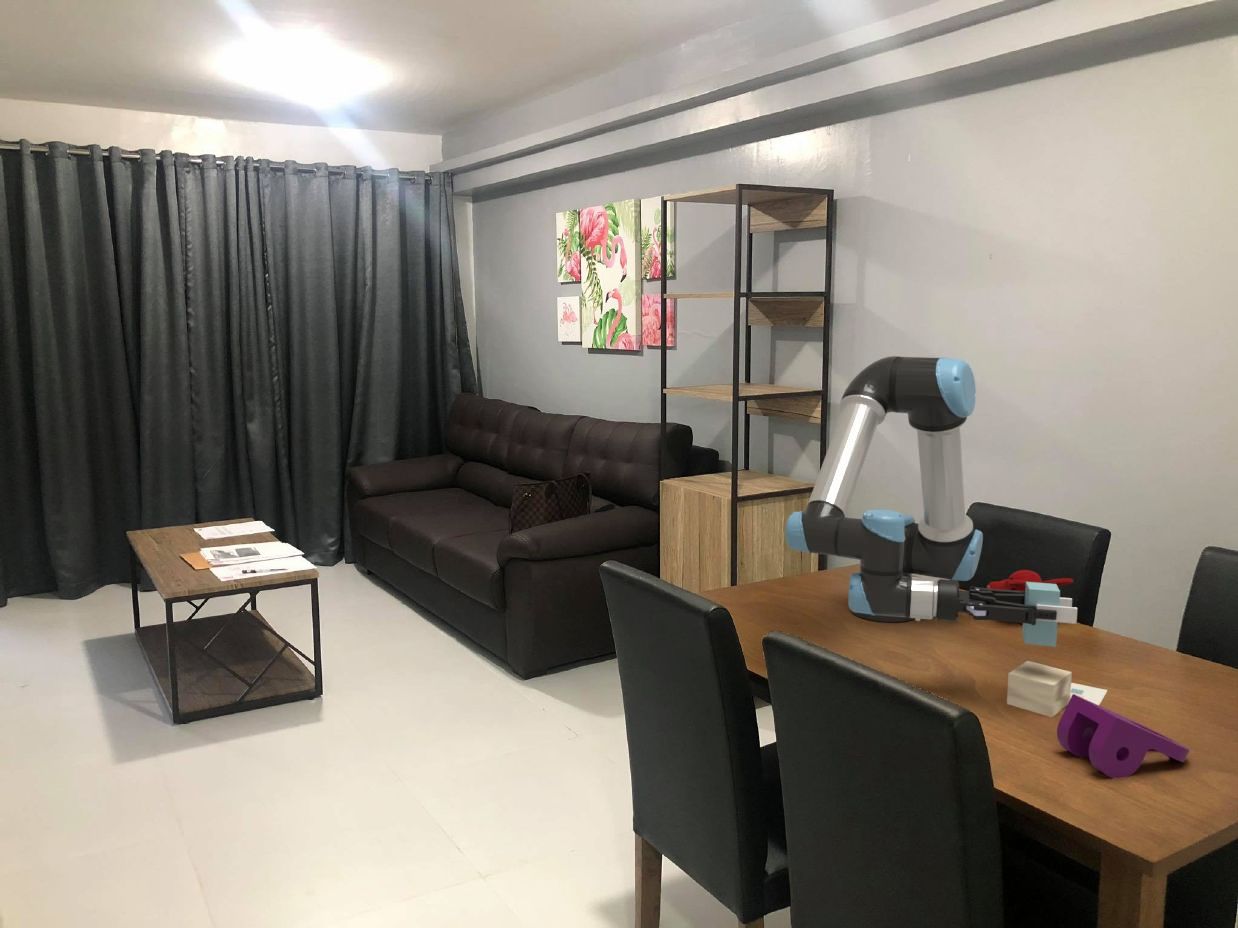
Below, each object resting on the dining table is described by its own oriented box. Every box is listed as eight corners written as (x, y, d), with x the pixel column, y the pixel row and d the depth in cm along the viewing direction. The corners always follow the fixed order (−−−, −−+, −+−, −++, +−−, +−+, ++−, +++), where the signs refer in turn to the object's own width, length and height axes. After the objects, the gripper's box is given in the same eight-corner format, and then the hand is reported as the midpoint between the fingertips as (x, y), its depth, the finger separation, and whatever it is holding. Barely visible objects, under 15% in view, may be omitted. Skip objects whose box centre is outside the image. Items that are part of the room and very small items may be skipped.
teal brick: (1022, 634, 178) (1026, 581, 176) (1051, 637, 176) (1056, 583, 175) (1025, 643, 173) (1029, 589, 171) (1055, 646, 172) (1060, 591, 170)
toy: (976, 634, 227) (1017, 619, 212) (965, 582, 231) (1005, 564, 216) (1038, 631, 230) (1083, 617, 215) (1027, 580, 235) (1070, 563, 220)
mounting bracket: (1132, 777, 162) (1048, 742, 157) (1155, 730, 162) (1072, 693, 157) (1178, 806, 153) (1091, 769, 148) (1203, 756, 153) (1117, 717, 147)
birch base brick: (1025, 691, 182) (1027, 660, 181) (1069, 703, 177) (1071, 671, 175) (1006, 704, 177) (1008, 673, 176) (1051, 717, 171) (1053, 685, 170)
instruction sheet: (1056, 680, 188) (1056, 678, 188) (1107, 691, 183) (1107, 689, 183) (1041, 700, 178) (1041, 698, 178) (1095, 712, 173) (1095, 710, 173)
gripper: (933, 605, 188) (1064, 616, 181) (935, 634, 171) (1080, 647, 164) (935, 567, 187) (1067, 576, 180) (937, 592, 170) (1084, 604, 163)
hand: (1073, 610), depth 172 cm, fingers closed on teal brick, 5 cm apart
